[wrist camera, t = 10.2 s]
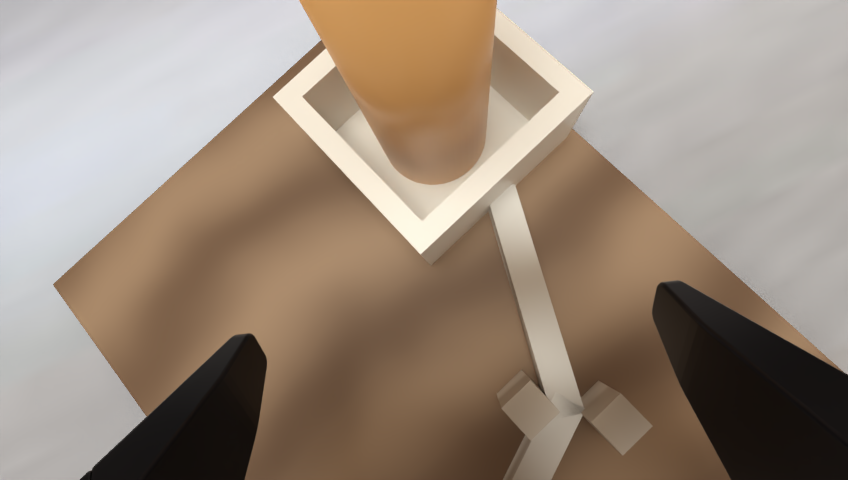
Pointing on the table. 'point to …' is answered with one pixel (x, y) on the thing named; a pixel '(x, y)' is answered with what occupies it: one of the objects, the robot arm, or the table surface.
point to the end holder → (496, 167)
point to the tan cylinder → (415, 76)
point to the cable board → (412, 316)
